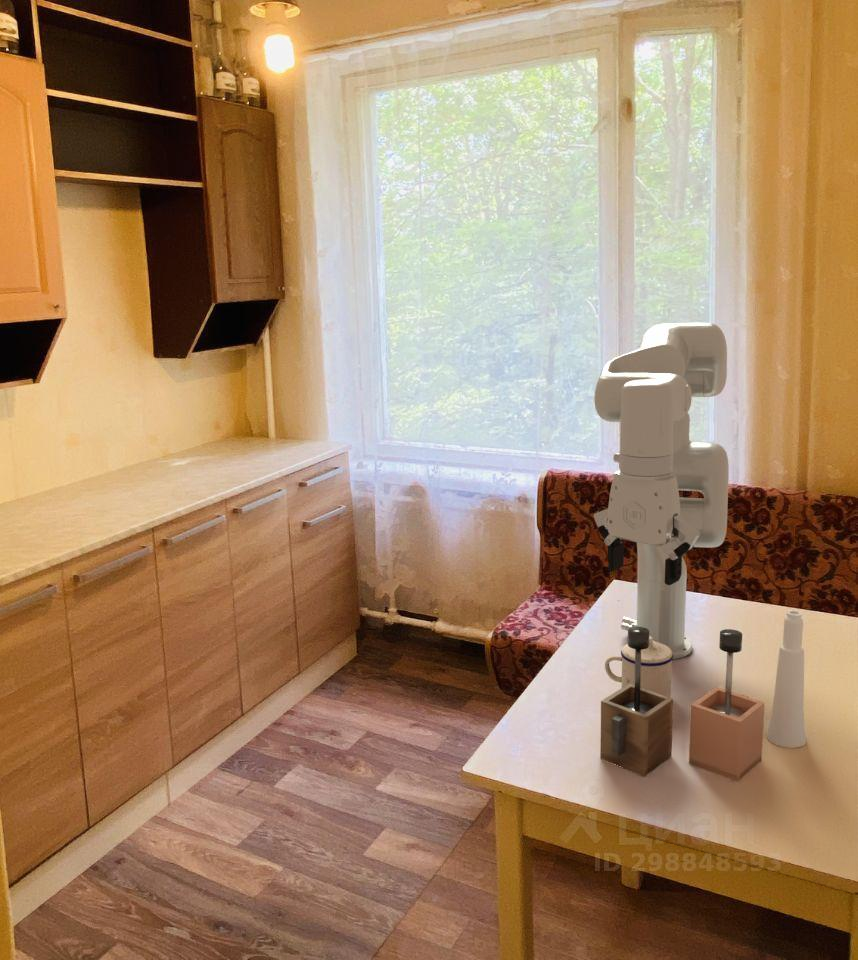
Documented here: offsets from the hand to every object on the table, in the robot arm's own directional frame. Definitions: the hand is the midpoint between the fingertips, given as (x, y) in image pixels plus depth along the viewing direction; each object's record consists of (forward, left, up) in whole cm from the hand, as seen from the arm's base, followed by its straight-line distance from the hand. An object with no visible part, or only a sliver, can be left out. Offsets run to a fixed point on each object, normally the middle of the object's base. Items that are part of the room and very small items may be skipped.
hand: (643, 575), depth 133 cm
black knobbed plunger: (+11, +8, -23) cm, 26 cm away
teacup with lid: (-11, +18, -31) cm, 37 cm away
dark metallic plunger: (0, 0, -23) cm, 23 cm away
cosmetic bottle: (+15, +21, -31) cm, 40 cm away
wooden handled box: (0, 0, -31) cm, 31 cm away
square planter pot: (+11, +8, -31) cm, 33 cm away
